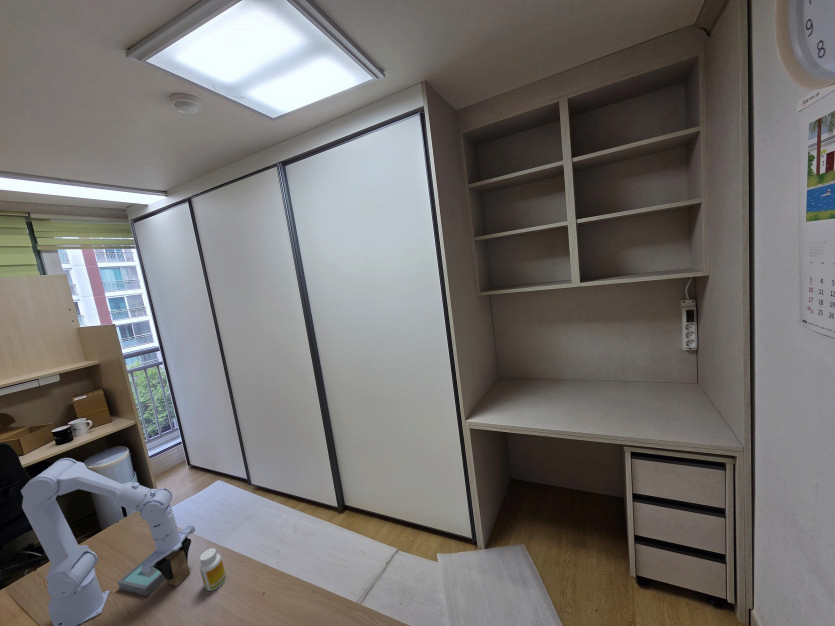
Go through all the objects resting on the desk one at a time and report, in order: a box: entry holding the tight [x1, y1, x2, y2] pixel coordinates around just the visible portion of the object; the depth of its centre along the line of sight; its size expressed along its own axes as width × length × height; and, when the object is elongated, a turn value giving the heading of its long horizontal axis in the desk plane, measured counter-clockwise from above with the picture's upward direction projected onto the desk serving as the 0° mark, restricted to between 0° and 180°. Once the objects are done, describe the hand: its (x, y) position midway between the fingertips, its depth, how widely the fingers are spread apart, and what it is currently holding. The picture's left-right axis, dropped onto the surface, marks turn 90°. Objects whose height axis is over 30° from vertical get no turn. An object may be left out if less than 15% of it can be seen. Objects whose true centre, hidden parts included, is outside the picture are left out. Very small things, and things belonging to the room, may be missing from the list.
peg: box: [165, 549, 191, 586], centre depth 99 cm, size 4×4×8 cm
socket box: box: [117, 551, 167, 597], centre depth 103 cm, size 12×12×2 cm
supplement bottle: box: [199, 547, 227, 592], centre depth 96 cm, size 5×5×10 cm
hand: (177, 571), depth 99 cm, fingers closed on peg, 4 cm apart
